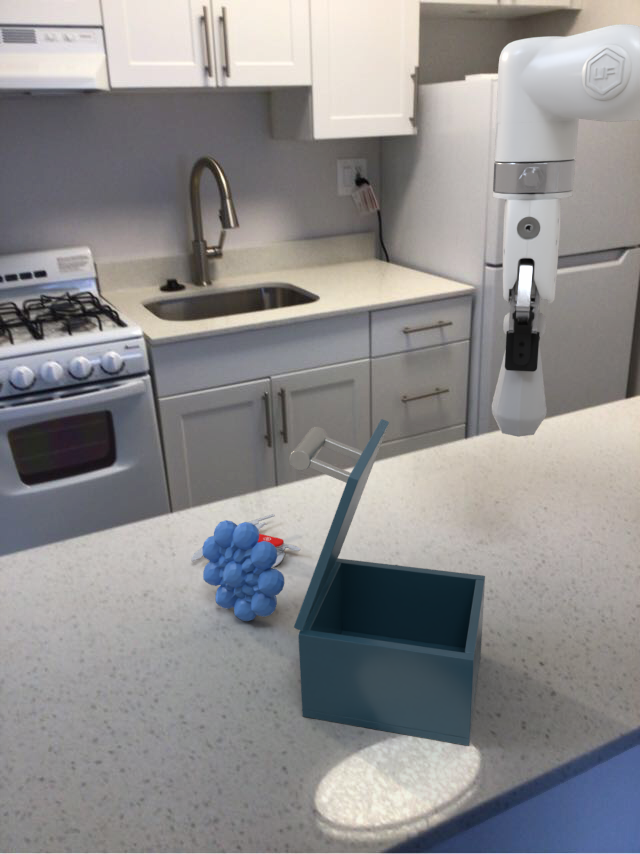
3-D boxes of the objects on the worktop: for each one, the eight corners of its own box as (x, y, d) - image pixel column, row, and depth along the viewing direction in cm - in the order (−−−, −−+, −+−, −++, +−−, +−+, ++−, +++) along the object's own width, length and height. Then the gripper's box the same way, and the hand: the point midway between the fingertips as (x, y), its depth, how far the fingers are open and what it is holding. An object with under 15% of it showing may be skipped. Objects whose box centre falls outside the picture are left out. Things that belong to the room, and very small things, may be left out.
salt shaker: (479, 429, 83) (484, 312, 78) (512, 416, 86) (519, 303, 81) (523, 443, 79) (531, 321, 74) (556, 429, 82) (566, 311, 77)
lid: (389, 421, 68) (326, 396, 69) (358, 480, 57) (283, 449, 58) (338, 555, 75) (281, 531, 76) (302, 631, 64) (235, 602, 64)
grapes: (313, 620, 80) (309, 520, 76) (268, 652, 75) (261, 547, 71) (237, 582, 87) (230, 489, 83) (192, 609, 83) (182, 511, 78)
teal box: (480, 652, 74) (485, 575, 71) (469, 746, 63) (473, 660, 60) (337, 631, 78) (335, 557, 75) (302, 716, 67) (298, 634, 64)
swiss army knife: (324, 534, 97) (323, 521, 97) (269, 589, 86) (268, 574, 85) (248, 517, 102) (247, 504, 102) (187, 567, 91) (186, 552, 90)
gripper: (575, 186, 64) (558, 390, 71) (573, 175, 79) (559, 344, 86) (485, 188, 67) (477, 385, 73) (499, 176, 82) (492, 341, 88)
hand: (522, 361), depth 80 cm, fingers closed on salt shaker, 4 cm apart
